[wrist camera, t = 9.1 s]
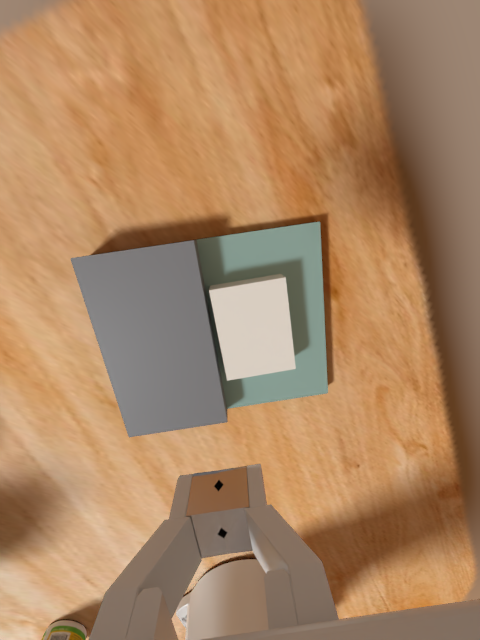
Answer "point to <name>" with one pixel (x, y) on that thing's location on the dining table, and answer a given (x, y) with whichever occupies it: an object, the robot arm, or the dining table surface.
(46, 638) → the supplement bottle
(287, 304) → the tile
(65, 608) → the dining table surface
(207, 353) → the plate
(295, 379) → the mat
